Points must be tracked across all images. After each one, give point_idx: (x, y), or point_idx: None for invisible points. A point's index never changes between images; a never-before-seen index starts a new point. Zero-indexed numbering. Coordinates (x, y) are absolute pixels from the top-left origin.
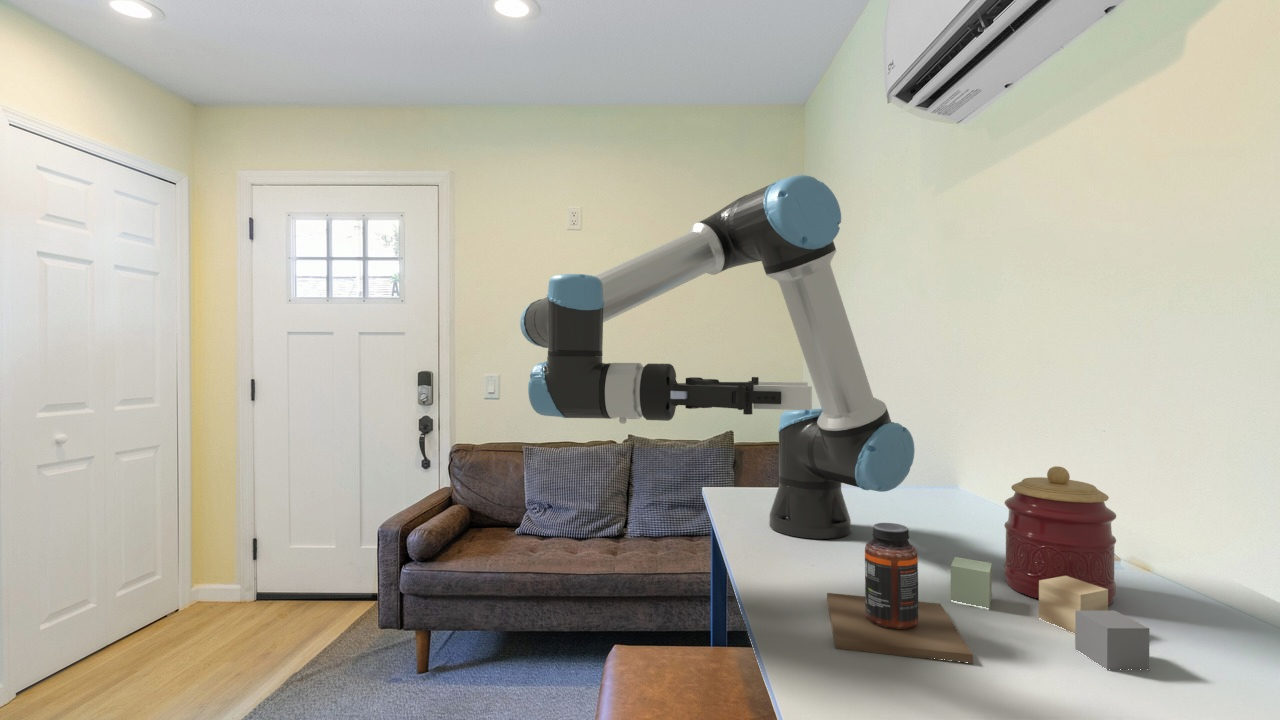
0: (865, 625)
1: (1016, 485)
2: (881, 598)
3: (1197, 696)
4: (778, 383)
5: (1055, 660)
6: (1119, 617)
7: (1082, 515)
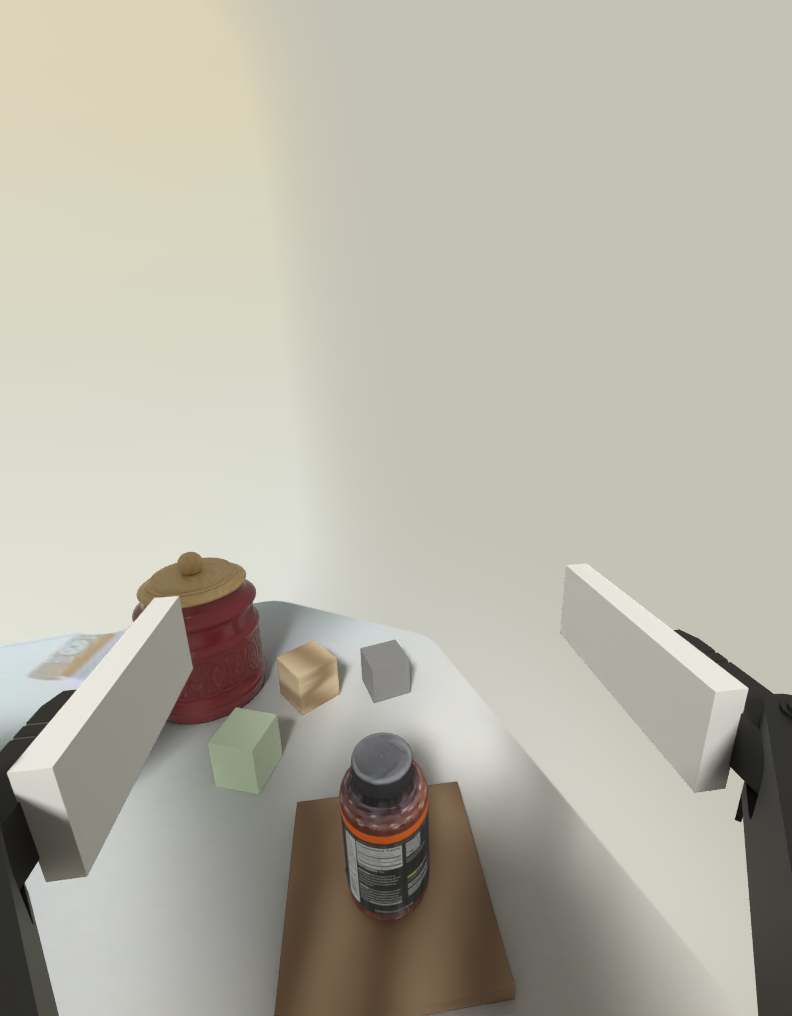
0: (427, 925)
1: None
2: (426, 859)
3: (430, 658)
4: (125, 679)
5: (406, 720)
6: (377, 649)
7: (250, 590)
